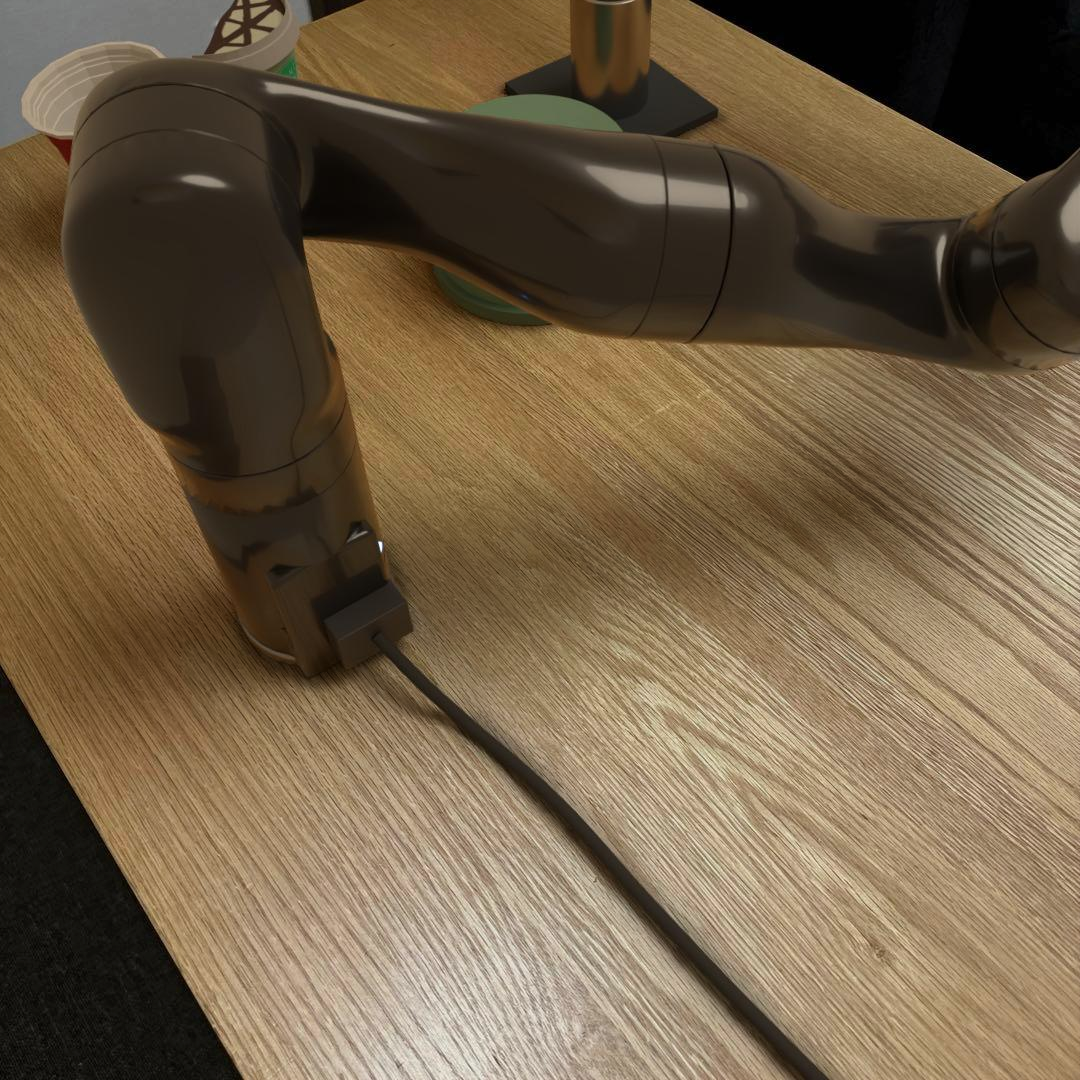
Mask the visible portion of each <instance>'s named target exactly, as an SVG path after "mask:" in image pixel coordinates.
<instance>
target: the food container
mask: <svg viewBox="0 0 1080 1080" xmlns="http://www.w3.org/2000/svg"><path fill="white" fill-rule="evenodd" d="M300 29H301V28H300V24H299V21H298V19H297V17H296V14H295V13H294V11H293V9H292V6H291V4H290V3H289V1H288V0H233V2H232V4H231V5H230V6H229V8H228V9H227V10H226V11H225V12H224V13H223V14H222V16H221V17H220V18H219V20H218V22H217V24H216V26H215V28H214V31H213V34H212V37H211V39H210V41H209V43H208V45H207V47H206V49H205V51H204V53H203V54H191V58H197V59H207V60H213V61H220V62H225V63H230V64H235V65H241V66H245V67H250V68H254V69H259V70H263V71H267V72H271V73H276V74H280V75H284V76H288V77H292V78H297V79H299V73H298V65H297V59H296V51H295V46H296V45H297V43H298V40H299V38H300V31H301V30H300Z"/></svg>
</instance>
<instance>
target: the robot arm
mask: <svg viewBox="0 0 1080 1080" xmlns="http://www.w3.org/2000/svg"><path fill="white" fill-rule="evenodd" d="M304 241H315V242H316V241H317V242H327V243H337V244H346V245H347V244H348V245H356V246H357V245H358V246H366V247H371V248H377V249H383V250H388V251H392V252H396V253H400V254H405V255H408V256H411V257H414V258H417V259H420V260H422V261H425V262H426V263H427V262H428V263H430V264H432V265H433V264H434V265H437V266H439V267H441V268H443V269H445V270H447V271H449V272H451V273H453V274H455V275H457V276H459V277H461V278H463V279H465V280H467V281H469V282H471V283H472V284H474V285H476V286H478V287H480V288H482V289H484V290H486V291H488V292H490V293H492V294H494V295H496V296H497V297H499V298H501V299H503V300H505V301H507V302H509V303H511V304H512V305H514V306H516V307H518V308H520V309H522V310H524V311H526V312H529V313H531V314H533V315H535V316H537V317H539V318H541V319H543V320H545V321H548V322H550V323H552V324H553V325H556V326H557V327H560V328H563V329H566V330H568V331H572V332H575V333H577V334H583V335H588V336H593V337H599V338H606V339H612V340H613V339H614V340H624V341H625V340H627V341H640V342H651V343H652V342H655V343H667V344H682V345H724V346H726V345H727V346H741V347H757V348H759V347H761V348H775V349H776V348H778V349H838V350H839V349H840V350H850V351H851V350H852V351H862V352H868V353H874V354H880V355H886V356H891V357H898V358H903V359H908V360H913V361H918V362H924V363H929V364H933V365H938V366H943V367H947V368H953V369H957V370H963V371H969V372H974V373H980V374H984V375H985V374H986V375H993V376H1002V377H1005V376H1006V377H1007V376H1008V377H1009V376H1010V377H1011V376H1012V377H1014V376H1015V377H1018V376H1029V375H1035V374H1039V373H1044V372H1046V371H1050V370H1053V369H1056V368H1059V367H1062V366H1065V365H1068V364H1071V363H1073V362H1076V361H1079V360H1080V147H1079V148H1077V150H1076V151H1075V152H1074V153H1073V154H1072V155H1071V156H1070V157H1069V158H1067V160H1065V161H1064V162H1063V163H1062V164H1061V165H1059V166H1058V167H1057V168H1054V169H1051V170H1049V171H1046V172H1044V173H1041V174H1039V175H1036V176H1034V177H1032V178H1031V179H1029V180H1027V181H1026V182H1024V183H1023V184H1021V185H1020V186H1018V187H1016V188H1014V189H1013V190H1010V191H1009V192H1008V193H1006V194H1004V195H1003V196H1001V197H999V198H997V199H995V201H993V202H991V203H989V204H988V205H986V206H985V207H983V208H981V209H979V210H975V211H973V212H970V213H969V212H968V213H965V214H962V215H956V216H935V217H931V216H929V217H926V216H923V217H922V216H908V215H907V216H905V215H892V214H878V213H871V212H866V211H865V212H864V211H860V210H857V209H853V208H849V207H846V206H844V205H842V204H839V203H837V202H835V201H834V200H832V199H830V198H828V197H827V196H825V195H824V194H822V193H821V192H820V191H818V190H816V189H815V188H814V187H813V186H811V185H810V184H808V182H806V181H805V180H803V179H802V178H800V177H799V176H797V175H796V174H794V173H793V172H791V171H790V170H788V169H787V168H785V167H784V166H782V165H781V164H779V163H777V162H775V161H773V160H771V159H770V158H767V157H766V156H763V155H761V154H759V153H756V152H753V151H751V150H748V149H744V148H740V147H736V146H733V145H728V144H723V143H717V142H712V141H704V140H697V139H688V138H680V137H664V136H656V135H648V134H641V133H630V132H617V131H602V130H591V129H580V128H573V127H566V126H559V125H551V124H544V123H538V122H531V121H525V120H518V119H510V118H502V117H495V116H489V115H481V114H473V113H464V112H463V111H456V110H455V111H454V110H447V109H441V108H435V107H434V108H433V107H427V106H421V105H416V104H410V103H405V102H399V101H395V100H390V99H386V98H381V97H377V96H371V95H368V94H365V93H364V94H363V93H359V92H356V91H350V90H347V89H342V88H339V87H335V86H331V85H326V84H321V83H318V82H314V81H309V80H305V79H301V78H298V79H297V78H292V77H288V76H284V75H280V74H276V73H271V72H267V71H263V70H259V69H254V68H250V67H245V66H241V65H235V64H230V63H225V62H220V61H213V60H207V59H197V58H192V57H183V56H182V57H181V56H179V57H175V56H174V57H166V58H158V59H153V60H147V61H142V62H137V63H134V64H131V65H129V66H126V67H124V68H122V69H119V70H117V71H115V72H113V73H111V74H110V75H108V76H107V77H105V78H104V79H103V80H101V81H100V82H99V83H98V84H97V85H96V86H95V87H94V88H93V89H92V90H91V91H90V93H89V94H88V96H87V97H86V99H85V100H84V102H83V104H82V107H81V109H80V111H79V113H78V117H77V120H76V124H75V128H74V135H73V141H72V148H71V158H70V164H69V165H68V173H67V182H66V190H65V196H64V206H63V217H62V223H61V232H60V251H61V258H62V263H63V267H64V272H65V275H66V279H67V281H68V285H69V288H70V290H71V293H72V295H73V297H74V300H75V303H76V305H77V308H78V309H79V312H80V315H81V316H82V318H83V320H84V322H85V324H86V326H87V328H88V330H89V333H90V334H91V336H92V338H93V340H94V342H95V344H96V346H97V348H98V350H99V351H100V353H101V355H102V358H104V361H105V363H106V365H107V366H108V369H109V370H110V372H111V375H112V377H113V378H114V381H115V382H116V384H117V386H118V388H119V389H120V392H121V393H122V395H123V397H124V399H125V401H126V402H127V404H128V405H129V407H130V408H131V410H132V411H133V413H134V414H135V416H137V418H138V419H139V420H140V421H141V422H143V423H144V424H145V425H146V426H147V427H148V428H150V429H151V430H152V431H154V432H156V433H157V435H158V437H159V440H160V442H161V443H162V446H163V448H164V450H165V452H166V455H167V457H168V459H169V461H170V464H171V466H172V468H173V470H174V472H175V475H176V478H177V480H178V483H179V485H180V487H181V489H182V491H183V493H184V496H185V497H186V501H187V503H188V505H189V507H190V510H191V512H192V514H193V516H194V519H195V520H196V523H197V525H198V527H199V530H200V533H201V534H202V537H203V539H204V541H205V544H206V545H207V548H208V551H209V553H210V554H211V556H212V559H213V561H214V564H215V566H216V568H217V570H218V573H219V575H220V578H221V579H222V582H223V584H224V586H225V588H226V591H227V593H228V595H229V597H230V599H231V601H232V603H233V606H234V608H235V610H236V615H237V618H238V620H239V623H240V626H241V628H242V630H243V632H244V634H245V636H246V638H247V639H248V640H249V641H250V643H251V644H252V645H253V646H254V648H256V649H257V650H258V651H259V652H261V653H262V654H264V655H265V656H266V657H268V658H271V659H273V660H275V661H277V662H280V663H283V664H287V665H293V666H298V668H299V669H300V670H301V671H302V673H303V674H304V675H305V677H307V678H312V677H315V676H316V675H318V674H320V673H321V672H323V671H325V670H326V669H328V668H330V667H332V666H334V665H335V664H337V663H339V662H341V664H342V665H343V667H344V669H346V670H349V669H351V668H353V667H355V666H357V665H358V664H360V663H362V662H364V661H365V660H367V659H369V658H370V657H372V656H374V655H376V654H377V653H379V652H382V653H383V655H384V656H385V657H386V658H387V659H388V660H389V661H390V662H391V663H392V664H393V665H394V666H395V667H396V668H397V669H398V670H399V671H400V673H402V674H403V676H404V677H405V678H407V680H408V681H410V682H411V684H412V685H414V686H415V687H416V689H418V690H419V691H420V692H421V693H422V694H423V695H424V696H425V697H426V698H427V699H428V700H429V701H430V702H432V703H433V704H434V705H435V706H436V707H437V708H438V709H439V710H441V712H443V713H444V714H445V715H446V716H447V717H448V718H449V719H451V720H452V721H453V722H454V723H455V724H456V725H458V726H459V727H460V728H461V729H462V730H463V731H464V732H466V734H468V735H469V736H470V737H471V738H472V739H473V740H475V741H476V742H477V743H478V744H479V745H481V747H483V748H484V749H485V750H486V751H488V753H490V754H491V755H492V756H493V757H494V758H496V759H497V760H498V761H500V763H502V764H503V765H504V766H505V767H506V768H508V769H509V770H510V771H511V772H512V773H513V774H515V776H517V777H518V778H519V779H520V780H521V781H522V782H523V783H525V784H526V786H528V787H529V788H530V789H531V790H532V791H533V792H534V793H536V794H537V795H538V796H539V798H541V799H542V800H543V801H544V802H545V803H546V804H547V805H548V806H549V807H550V808H551V809H552V810H553V811H554V812H555V813H556V815H558V816H559V817H560V818H561V819H562V820H563V821H564V822H565V823H566V825H567V826H568V827H569V828H570V829H571V830H572V831H573V832H574V833H575V834H576V835H577V836H578V837H579V838H580V840H581V841H582V842H583V843H584V844H585V845H586V846H587V848H588V849H589V850H590V851H591V853H593V854H594V856H595V857H596V858H597V859H598V860H599V861H600V863H601V864H602V865H603V866H604V867H605V869H606V870H607V871H608V872H609V873H610V875H612V876H613V877H614V879H615V880H616V881H617V882H618V884H620V886H621V887H622V888H623V890H625V892H627V894H628V895H629V896H630V897H631V898H632V899H633V900H634V902H635V903H636V904H637V905H638V906H639V907H640V909H642V910H643V911H644V912H645V913H646V914H647V916H648V917H649V918H650V920H652V921H653V922H654V923H655V924H656V926H658V927H659V929H660V930H661V931H662V932H663V933H664V934H665V935H666V937H668V939H670V940H671V942H672V943H673V944H674V945H675V946H676V947H677V948H678V949H679V950H680V952H682V954H683V955H684V956H685V957H686V958H687V959H688V960H689V961H690V962H691V963H692V965H694V967H696V969H697V970H698V971H699V972H700V973H701V974H702V975H703V976H704V977H705V978H706V979H707V980H708V982H710V983H711V984H712V985H713V987H714V988H715V989H716V990H717V991H718V992H719V993H720V994H721V995H722V996H723V997H724V998H725V999H726V1000H727V1001H728V1002H729V1003H730V1004H731V1005H732V1006H733V1007H734V1008H735V1009H736V1010H737V1012H739V1013H740V1015H741V1016H743V1017H744V1018H745V1020H746V1021H747V1022H748V1023H749V1024H750V1025H751V1026H752V1027H753V1028H754V1029H755V1030H756V1031H757V1032H758V1033H759V1034H760V1035H761V1037H763V1038H764V1039H765V1040H766V1041H767V1042H768V1043H769V1044H770V1045H771V1046H772V1047H773V1048H774V1049H775V1051H777V1052H778V1053H779V1055H780V1056H781V1057H783V1059H784V1060H786V1061H787V1062H788V1064H789V1065H790V1066H792V1067H793V1068H794V1070H795V1071H797V1073H799V1075H801V1077H803V1079H805V1080H831V1079H830V1078H829V1077H828V1076H827V1075H826V1074H825V1073H824V1072H823V1071H822V1070H821V1069H820V1068H819V1067H818V1066H817V1065H816V1064H815V1063H814V1062H812V1060H811V1059H810V1058H809V1057H808V1056H806V1054H804V1052H803V1051H801V1049H799V1048H798V1047H797V1045H795V1043H793V1042H792V1041H791V1039H789V1038H788V1036H787V1035H786V1034H785V1033H783V1031H782V1030H781V1029H780V1028H779V1027H778V1026H777V1025H776V1024H775V1023H774V1022H773V1021H772V1020H771V1019H770V1018H769V1017H768V1016H767V1015H766V1014H765V1013H764V1012H763V1011H762V1010H761V1009H760V1008H759V1007H758V1006H757V1005H756V1004H755V1003H754V1002H753V1001H752V1000H751V999H750V998H749V997H748V996H747V995H746V993H744V992H743V991H742V990H741V988H740V987H738V986H737V985H736V984H735V983H734V982H733V981H732V979H730V977H728V975H727V974H726V973H725V972H724V971H723V970H722V969H721V968H720V967H719V966H718V965H717V964H716V963H715V962H714V961H713V960H712V959H711V957H709V956H708V955H707V953H706V952H705V951H703V949H702V948H701V947H700V945H698V944H697V943H696V942H695V941H694V940H693V939H692V938H691V936H690V935H689V934H688V933H687V932H685V930H684V929H683V928H682V927H681V926H680V925H679V923H677V922H676V920H675V919H674V918H673V917H672V916H671V915H670V914H669V913H668V912H667V911H666V910H665V909H664V908H663V907H662V906H661V904H660V903H659V902H658V901H657V900H656V899H655V898H654V897H653V896H652V895H651V893H649V891H648V890H646V888H645V887H644V886H643V885H642V884H641V883H640V882H639V880H638V879H637V878H636V877H635V876H634V874H632V873H631V871H629V869H628V868H627V867H626V866H625V864H624V863H623V862H622V861H621V860H620V858H618V856H616V855H615V853H614V852H613V851H612V850H611V848H609V846H608V845H607V844H606V843H605V842H604V841H603V840H602V838H601V837H600V836H599V835H598V834H597V833H596V832H595V831H594V829H592V827H591V826H590V825H589V824H588V823H587V822H586V820H584V819H583V817H582V816H580V814H579V813H578V812H577V811H576V810H575V809H574V808H573V807H572V806H571V804H569V803H568V802H567V801H566V800H565V799H564V798H563V797H562V796H561V795H560V794H559V793H558V792H557V791H556V790H555V789H554V788H553V787H552V786H550V784H548V782H546V781H545V780H544V779H543V778H542V777H541V776H540V775H539V774H537V773H536V772H535V770H533V769H532V768H531V767H530V766H529V765H528V764H526V763H525V762H524V761H523V760H522V759H521V758H520V757H518V756H517V755H516V753H513V752H512V751H511V750H510V749H509V748H507V746H505V745H504V744H503V743H502V742H500V741H499V740H498V739H496V737H494V736H493V735H492V734H490V732H488V731H487V730H486V729H485V728H484V727H483V726H482V725H480V724H479V723H478V722H476V720H475V719H473V718H472V717H471V716H470V715H469V714H468V713H466V711H464V710H463V709H462V708H461V707H460V706H459V705H457V704H456V703H455V702H454V701H453V700H452V699H450V697H448V695H446V694H445V693H444V692H443V691H442V690H440V688H438V686H436V685H435V684H434V683H433V681H431V680H430V679H429V678H428V677H427V676H426V675H425V674H424V673H423V672H422V671H421V670H420V668H418V667H417V666H416V665H415V664H414V663H413V662H412V661H411V659H409V658H408V657H407V656H406V655H405V654H404V653H403V651H401V650H400V648H398V646H397V645H396V644H394V643H396V642H398V641H400V640H401V639H403V638H404V637H406V636H408V635H409V634H411V633H413V632H414V630H415V629H414V627H413V622H412V617H411V613H410V608H409V605H408V601H407V600H406V599H405V596H403V594H402V593H401V592H400V590H399V589H398V588H397V586H396V581H395V577H394V573H393V569H392V566H391V563H390V562H389V559H388V556H387V551H386V547H385V543H384V539H383V536H382V532H381V528H380V523H379V519H378V516H377V511H376V507H375V503H374V499H373V496H372V491H371V487H370V484H369V479H368V474H367V471H366V467H365V466H366V465H365V463H364V458H363V455H362V451H361V446H360V442H359V437H358V433H357V430H356V429H357V428H356V423H355V420H354V415H353V412H352V408H351V404H350V400H349V397H348V396H349V395H348V392H347V389H346V382H345V378H344V374H343V373H344V372H343V370H342V365H341V361H340V357H339V354H338V353H339V352H338V350H337V348H336V346H335V344H334V342H333V340H332V338H331V336H330V335H329V333H328V332H327V331H326V329H324V326H323V322H322V318H321V314H320V310H319V306H318V302H317V299H316V294H315V290H314V286H313V282H312V278H311V274H310V268H309V265H308V260H307V256H306V251H305V245H304ZM552 324H551V325H552Z"/></svg>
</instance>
